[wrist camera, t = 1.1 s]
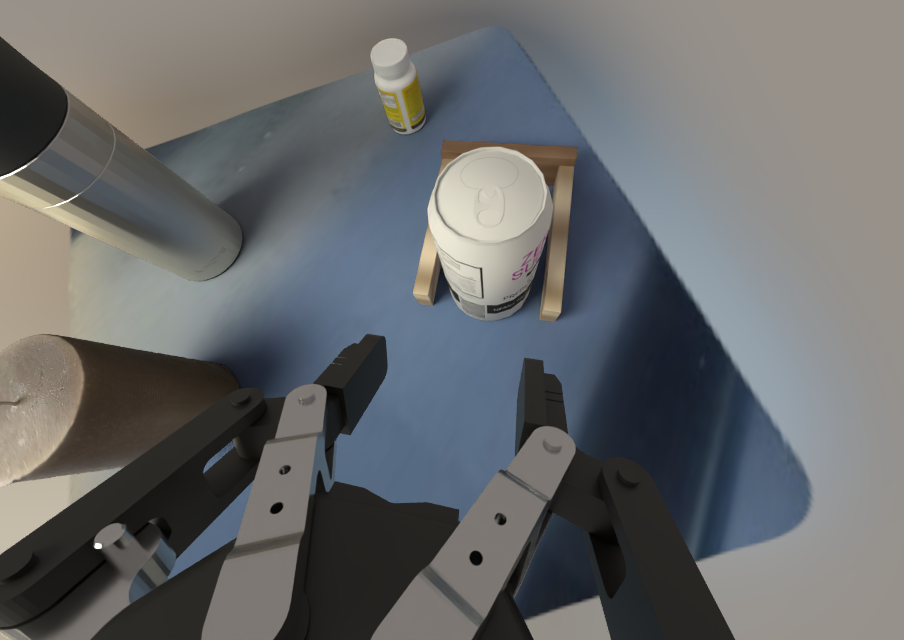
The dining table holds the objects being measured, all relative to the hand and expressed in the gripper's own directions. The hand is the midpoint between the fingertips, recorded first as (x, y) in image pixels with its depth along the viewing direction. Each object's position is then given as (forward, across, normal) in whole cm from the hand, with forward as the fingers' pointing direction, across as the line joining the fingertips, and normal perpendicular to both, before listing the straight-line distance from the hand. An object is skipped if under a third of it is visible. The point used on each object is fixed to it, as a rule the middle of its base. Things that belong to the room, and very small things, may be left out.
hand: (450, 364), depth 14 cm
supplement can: (+21, 0, +5) cm, 22 cm away
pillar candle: (+9, +28, +18) cm, 34 cm away
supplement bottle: (+36, +14, -10) cm, 40 cm away
